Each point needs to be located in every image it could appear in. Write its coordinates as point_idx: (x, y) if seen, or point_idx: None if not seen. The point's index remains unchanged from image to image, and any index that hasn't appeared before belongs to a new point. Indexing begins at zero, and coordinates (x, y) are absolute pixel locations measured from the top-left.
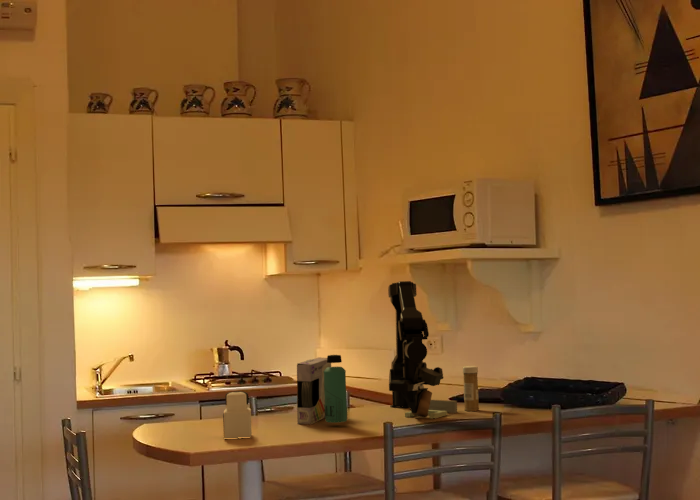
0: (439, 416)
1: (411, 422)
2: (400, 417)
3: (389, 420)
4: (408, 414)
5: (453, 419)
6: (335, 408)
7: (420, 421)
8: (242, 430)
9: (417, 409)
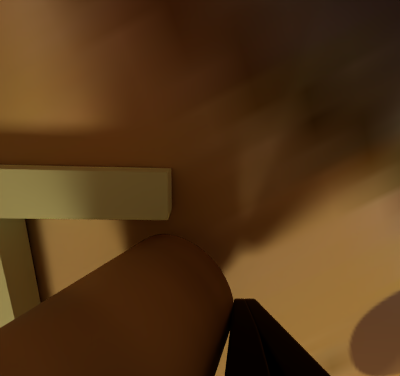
0: (87, 166)
1: (354, 236)
2: None
3: None
4: None
5: (129, 5)
6: None
7: (302, 205)
8: None
9: (233, 316)
